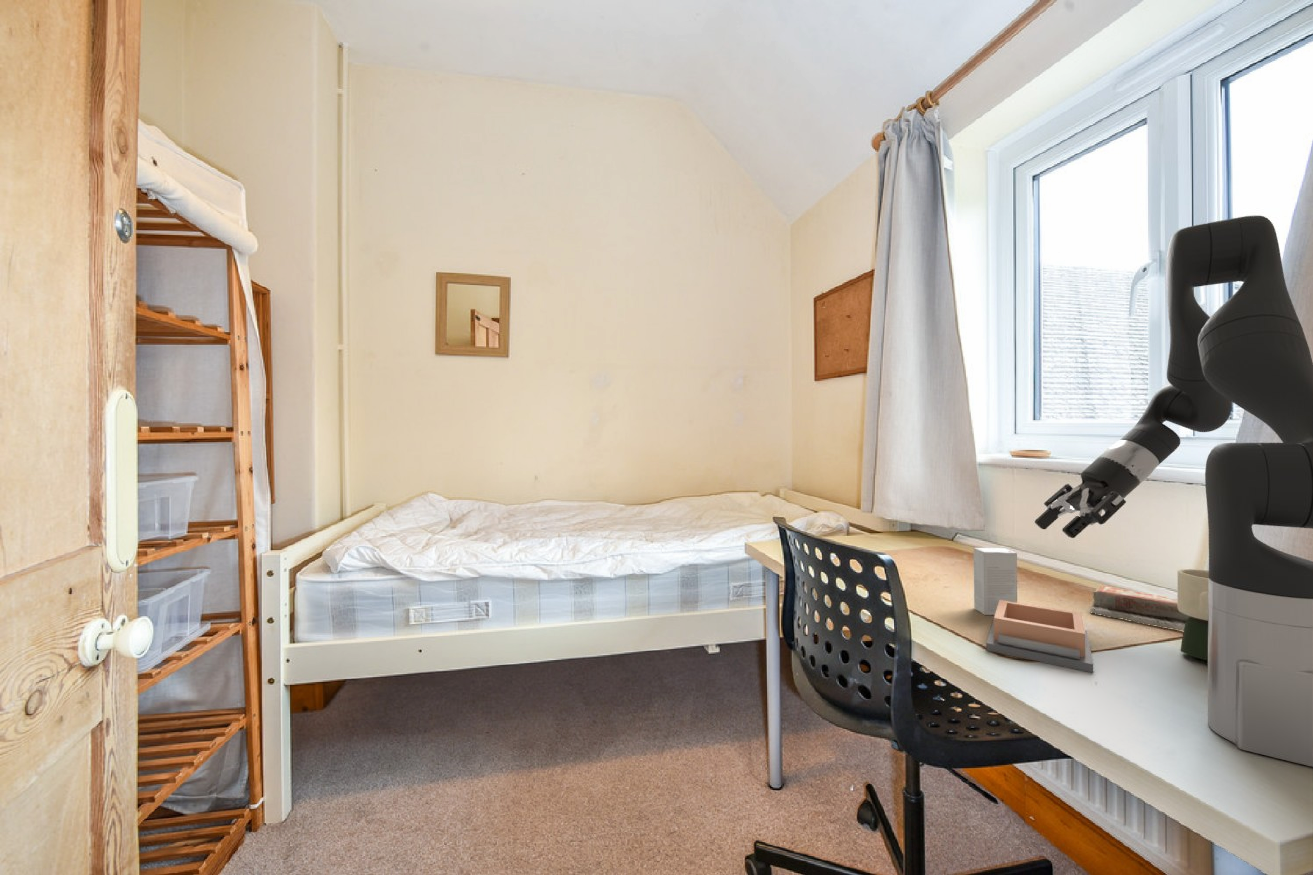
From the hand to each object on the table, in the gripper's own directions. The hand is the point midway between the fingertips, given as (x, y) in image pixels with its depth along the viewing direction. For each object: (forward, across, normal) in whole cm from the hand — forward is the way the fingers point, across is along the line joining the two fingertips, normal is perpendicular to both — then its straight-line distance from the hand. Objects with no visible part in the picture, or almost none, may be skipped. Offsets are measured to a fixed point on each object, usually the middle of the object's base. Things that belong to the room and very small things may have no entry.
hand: (1052, 530), depth 100 cm
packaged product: (0, +1, +24) cm, 24 cm away
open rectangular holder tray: (+19, +16, +3) cm, 25 cm away
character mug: (+4, +19, +19) cm, 27 cm away
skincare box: (+19, 0, +4) cm, 19 cm away
